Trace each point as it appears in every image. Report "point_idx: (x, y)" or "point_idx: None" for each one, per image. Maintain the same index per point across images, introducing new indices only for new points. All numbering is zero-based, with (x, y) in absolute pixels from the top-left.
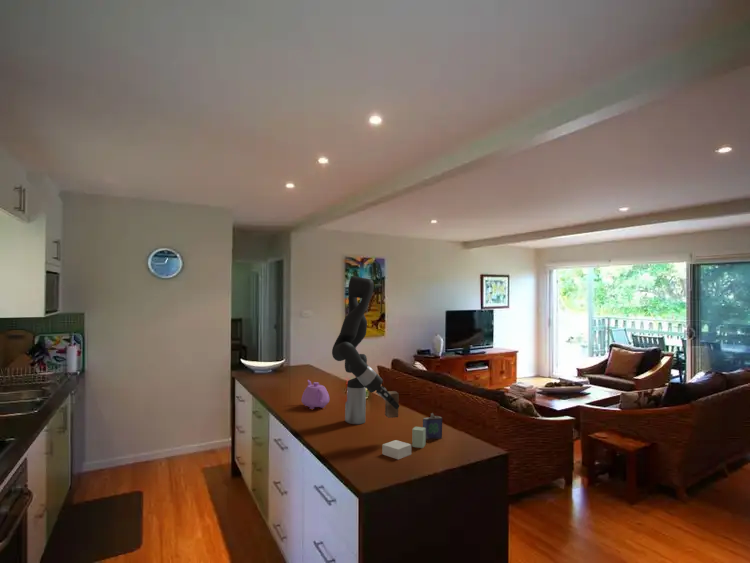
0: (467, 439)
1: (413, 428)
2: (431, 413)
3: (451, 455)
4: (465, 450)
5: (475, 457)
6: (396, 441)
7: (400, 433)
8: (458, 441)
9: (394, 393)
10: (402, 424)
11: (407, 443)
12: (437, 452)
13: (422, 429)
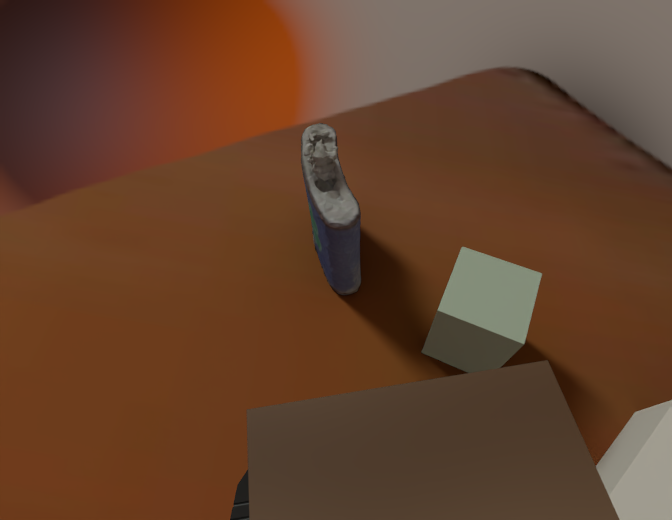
0: (356, 124)
1: (494, 331)
2: (309, 151)
3: (588, 214)
4: (504, 155)
5: (586, 141)
6: (639, 515)
7: (213, 413)
8: (383, 156)
9: (596, 504)
10: (27, 365)
11: (660, 425)
12: (560, 264)
13: (512, 272)
